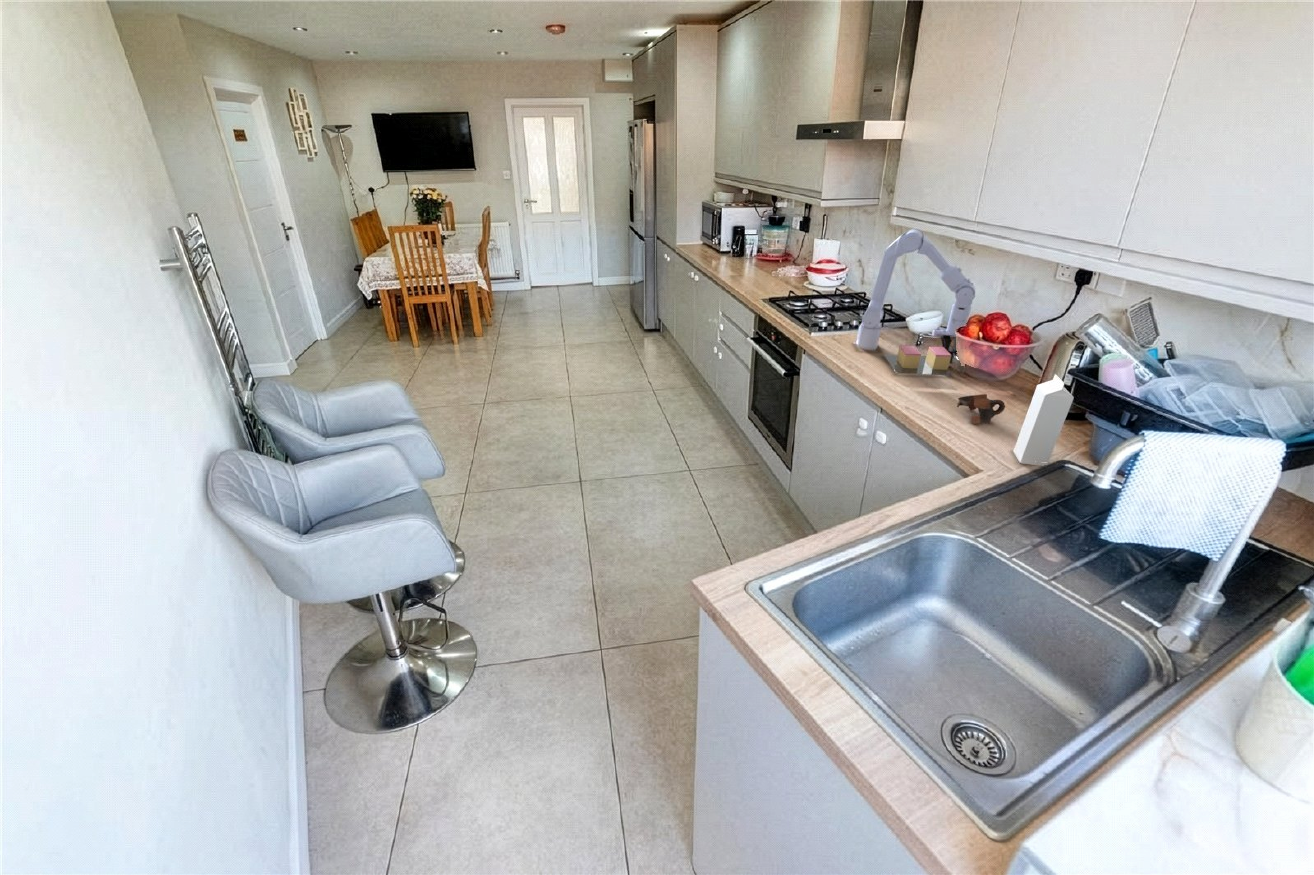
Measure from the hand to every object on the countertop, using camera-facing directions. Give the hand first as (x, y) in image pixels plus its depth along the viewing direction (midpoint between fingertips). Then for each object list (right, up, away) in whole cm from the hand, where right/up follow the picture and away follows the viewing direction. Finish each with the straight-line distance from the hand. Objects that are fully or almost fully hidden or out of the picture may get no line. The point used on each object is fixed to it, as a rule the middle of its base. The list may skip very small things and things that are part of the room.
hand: (948, 355), depth 201 cm
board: (-14, -4, -4) cm, 15 cm away
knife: (-1, -4, -5) cm, 6 cm away
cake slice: (-7, -4, -5) cm, 10 cm away
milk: (-10, -35, -59) cm, 69 cm away
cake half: (-17, -3, -4) cm, 18 cm away
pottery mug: (-12, -24, -38) cm, 47 cm away
